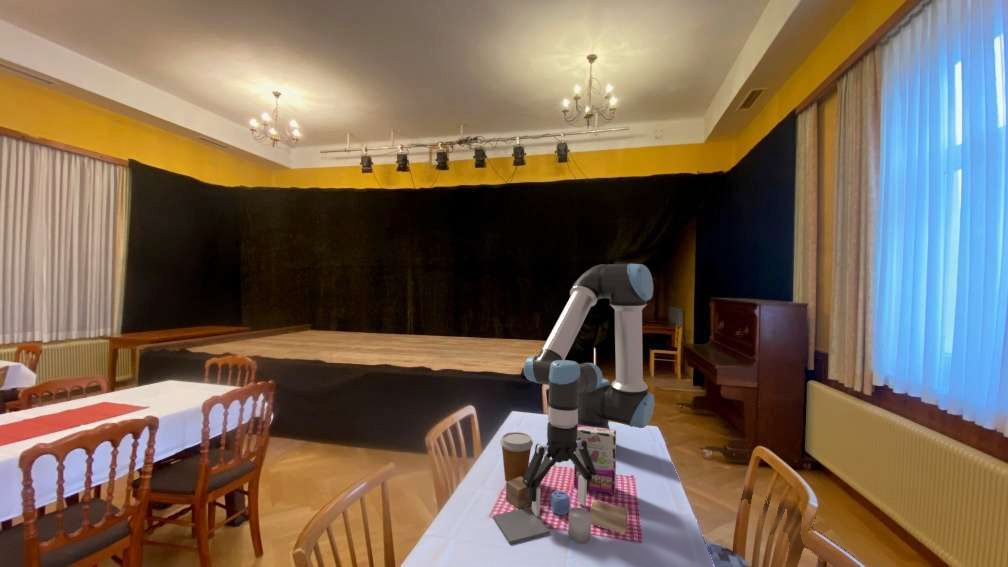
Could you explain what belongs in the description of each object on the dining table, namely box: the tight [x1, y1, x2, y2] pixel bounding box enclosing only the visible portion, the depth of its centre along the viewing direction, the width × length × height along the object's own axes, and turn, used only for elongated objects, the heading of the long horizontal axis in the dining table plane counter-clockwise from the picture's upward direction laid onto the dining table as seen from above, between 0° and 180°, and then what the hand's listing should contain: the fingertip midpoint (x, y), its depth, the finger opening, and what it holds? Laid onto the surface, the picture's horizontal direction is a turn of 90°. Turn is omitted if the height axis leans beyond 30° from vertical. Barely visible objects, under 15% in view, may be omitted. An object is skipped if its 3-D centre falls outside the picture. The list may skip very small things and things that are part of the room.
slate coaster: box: [492, 506, 551, 545], centre depth 89 cm, size 10×10×1 cm
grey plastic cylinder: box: [567, 507, 592, 544], centre depth 86 cm, size 5×5×5 cm
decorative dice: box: [550, 490, 571, 516], centre depth 95 cm, size 4×4×4 cm
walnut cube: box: [505, 476, 532, 510], centre depth 99 cm, size 5×5×5 cm
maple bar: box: [589, 499, 629, 535], centre depth 90 cm, size 4×8×4 cm, turn 63°
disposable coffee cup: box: [499, 431, 534, 482], centre depth 110 cm, size 10×10×12 cm
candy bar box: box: [573, 425, 617, 496], centre depth 107 cm, size 11×5×16 cm, turn 70°
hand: (559, 508), depth 95 cm, fingers open, 13 cm apart
